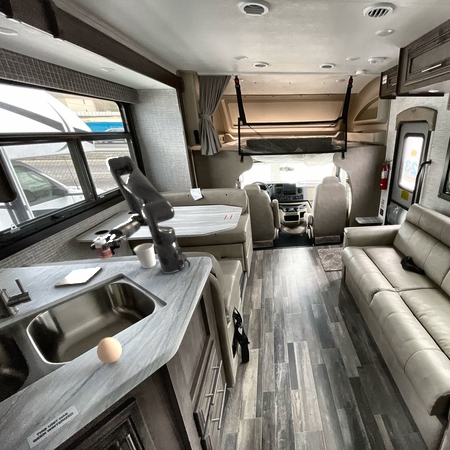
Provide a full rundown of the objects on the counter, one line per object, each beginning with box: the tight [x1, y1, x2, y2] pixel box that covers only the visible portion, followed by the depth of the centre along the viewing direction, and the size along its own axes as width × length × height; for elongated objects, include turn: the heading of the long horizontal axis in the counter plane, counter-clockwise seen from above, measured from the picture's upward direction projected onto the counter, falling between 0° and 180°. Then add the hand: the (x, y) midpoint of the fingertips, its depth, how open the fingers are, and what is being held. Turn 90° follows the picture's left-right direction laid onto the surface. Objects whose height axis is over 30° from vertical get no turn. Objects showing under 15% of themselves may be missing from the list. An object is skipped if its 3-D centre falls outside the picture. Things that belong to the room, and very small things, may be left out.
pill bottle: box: [94, 239, 113, 260], centre depth 110 cm, size 5×5×8 cm
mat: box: [53, 267, 103, 288], centre depth 110 cm, size 12×12×1 cm
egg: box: [96, 337, 123, 364], centre depth 68 cm, size 5×5×8 cm
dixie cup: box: [133, 242, 157, 269], centre depth 117 cm, size 8×8×10 cm
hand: (97, 248), depth 107 cm, fingers closed on pill bottle, 4 cm apart
